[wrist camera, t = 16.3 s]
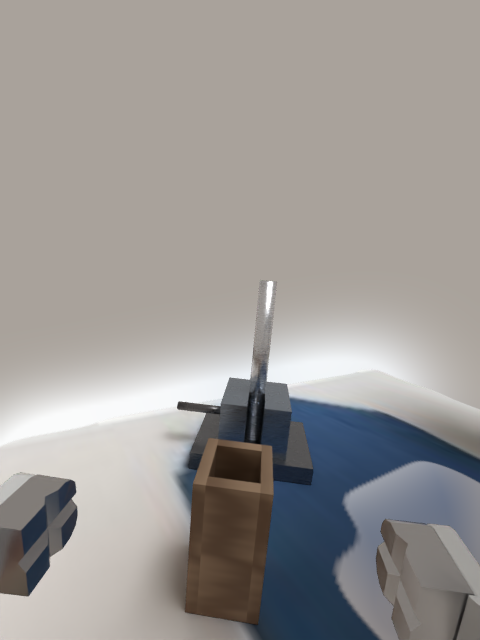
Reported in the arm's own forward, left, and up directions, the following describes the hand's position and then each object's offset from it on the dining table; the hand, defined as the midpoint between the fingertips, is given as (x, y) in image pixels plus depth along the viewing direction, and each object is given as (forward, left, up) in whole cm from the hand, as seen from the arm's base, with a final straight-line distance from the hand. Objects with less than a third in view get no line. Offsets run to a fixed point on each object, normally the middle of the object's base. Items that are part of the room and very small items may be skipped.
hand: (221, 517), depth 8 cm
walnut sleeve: (+6, -10, -17) cm, 21 cm away
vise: (+14, -24, -17) cm, 33 cm away
